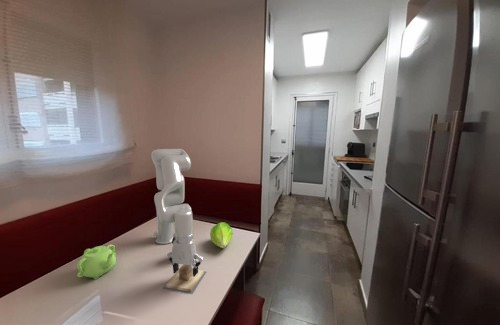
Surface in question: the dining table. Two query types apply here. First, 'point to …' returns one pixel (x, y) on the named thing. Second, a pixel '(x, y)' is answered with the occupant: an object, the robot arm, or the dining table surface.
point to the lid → (184, 279)
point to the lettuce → (221, 234)
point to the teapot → (97, 261)
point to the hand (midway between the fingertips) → (185, 272)
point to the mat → (186, 291)
